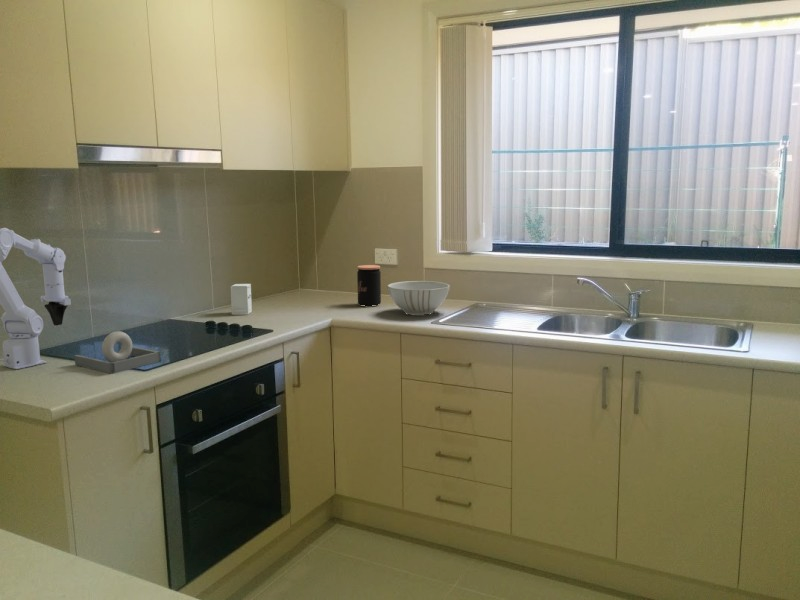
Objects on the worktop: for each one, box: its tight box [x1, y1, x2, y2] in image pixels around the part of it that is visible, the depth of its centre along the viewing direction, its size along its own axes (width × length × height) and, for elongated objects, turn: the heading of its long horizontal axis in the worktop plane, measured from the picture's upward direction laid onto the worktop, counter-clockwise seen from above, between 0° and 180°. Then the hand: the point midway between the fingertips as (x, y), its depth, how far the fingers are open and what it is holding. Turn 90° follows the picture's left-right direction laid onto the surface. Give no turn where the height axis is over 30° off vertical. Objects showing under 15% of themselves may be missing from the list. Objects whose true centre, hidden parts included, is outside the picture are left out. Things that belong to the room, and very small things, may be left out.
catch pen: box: [73, 345, 162, 374], centre depth 208 cm, size 17×19×3 cm
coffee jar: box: [356, 264, 382, 306], centre depth 308 cm, size 11×11×18 cm
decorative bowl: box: [387, 280, 451, 316], centre depth 288 cm, size 27×27×12 cm
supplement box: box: [230, 283, 253, 316], centre depth 289 cm, size 7×7×13 cm
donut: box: [101, 331, 133, 363], centre depth 208 cm, size 10×4×10 cm, turn 147°
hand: (57, 324), depth 221 cm, fingers closed
